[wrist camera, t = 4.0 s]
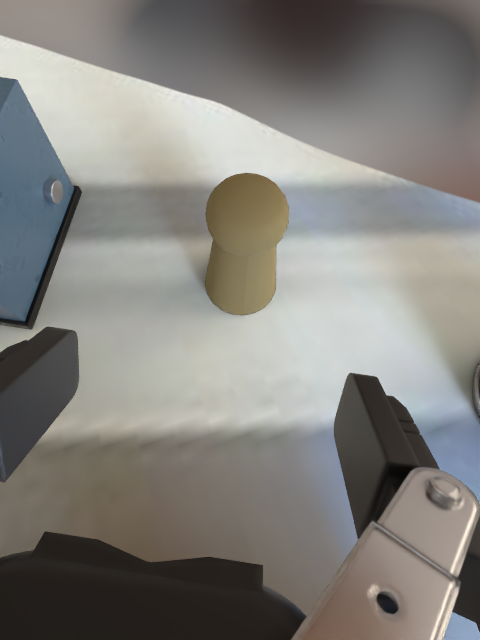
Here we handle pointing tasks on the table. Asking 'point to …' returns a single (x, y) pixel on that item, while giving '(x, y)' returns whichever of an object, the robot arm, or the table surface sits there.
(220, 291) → the cork
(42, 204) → the toaster
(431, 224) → the table surface
